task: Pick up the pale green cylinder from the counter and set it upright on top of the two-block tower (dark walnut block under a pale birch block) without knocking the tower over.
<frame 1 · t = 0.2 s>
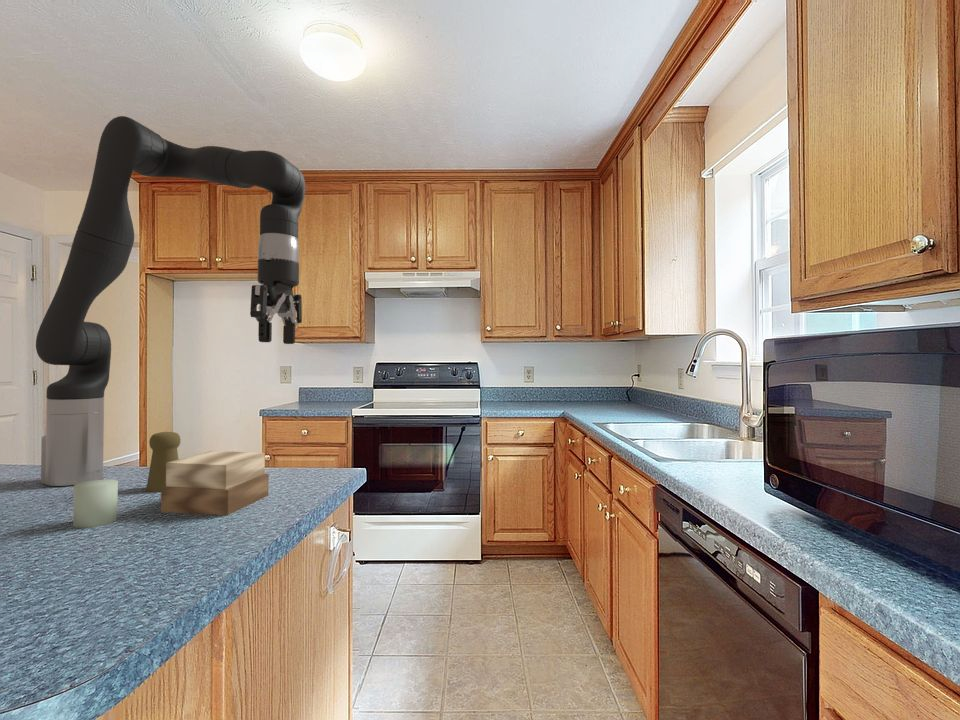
hand: (277, 343, 95), 29 cm above the countertop, tool pointing down, fingers open, 8 cm apart
tower base: (217, 505, 86), on the countertop, touching tower top
tower top: (217, 479, 86), point 4 cm above the countertop, touching tower base
pale green cylinder: (95, 522, 76), on the countertop
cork: (164, 489, 96), on the countertop
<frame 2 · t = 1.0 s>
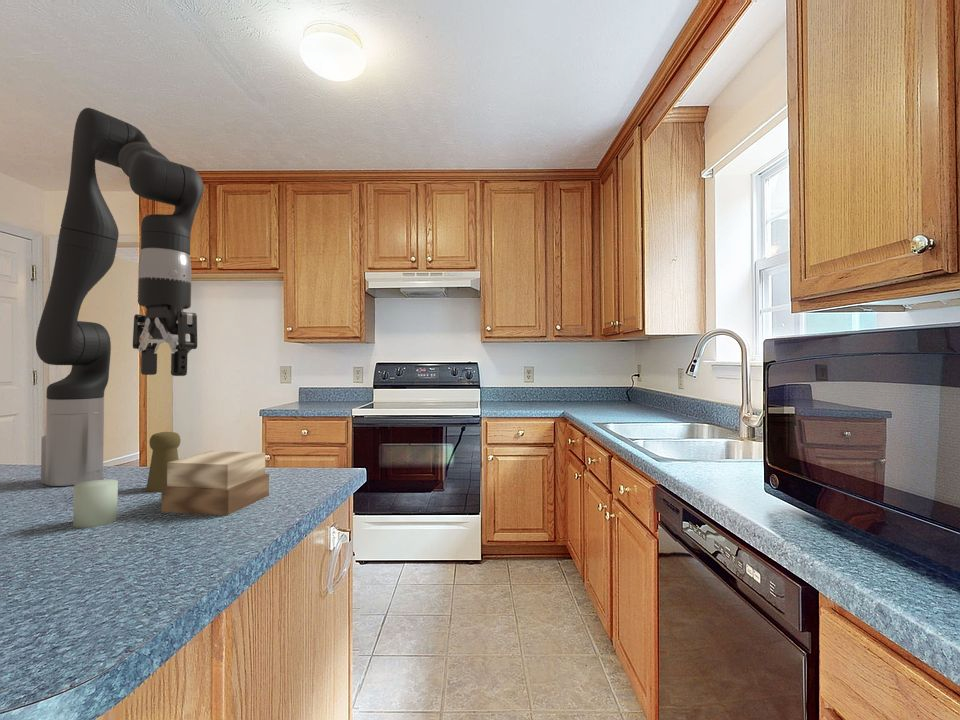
hand: (163, 375, 82), 23 cm above the countertop, tool pointing down, fingers open, 8 cm apart
nothing on the countertop moved.
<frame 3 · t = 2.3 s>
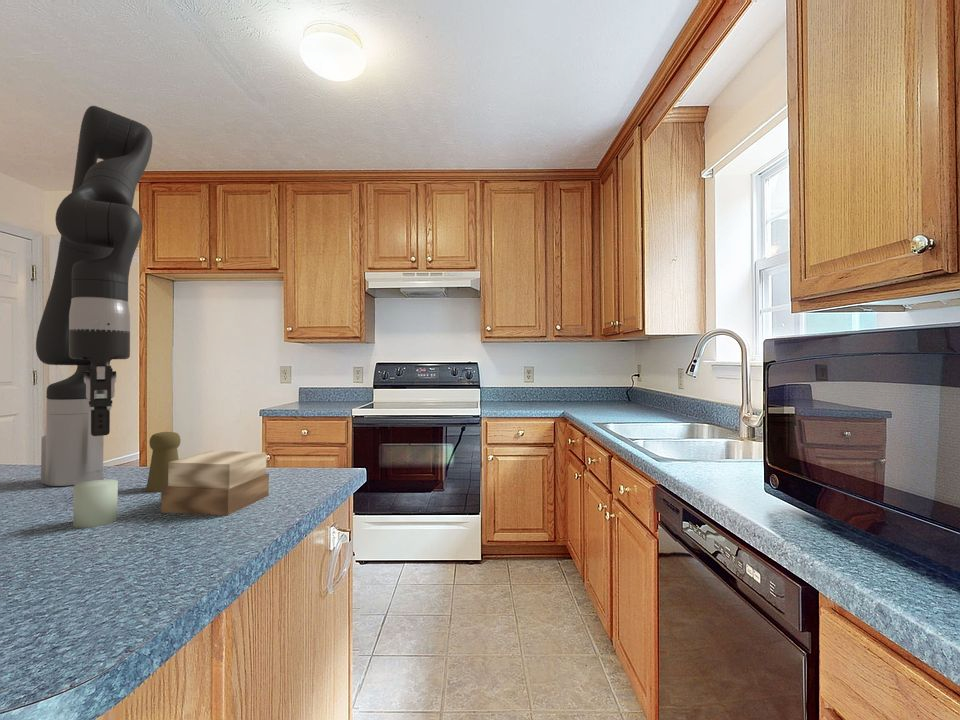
hand: (99, 432, 76), 14 cm above the countertop, tool pointing down, fingers open, 8 cm apart
nothing on the countertop moved.
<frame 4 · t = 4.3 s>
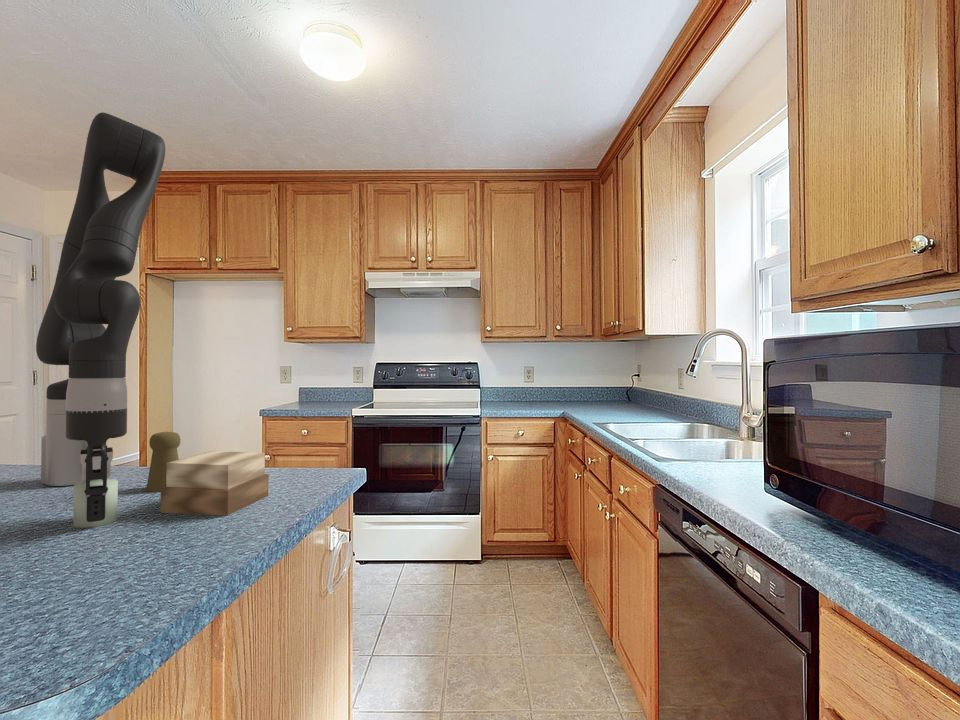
hand: (96, 515, 76), 1 cm above the countertop, tool pointing down, fingers closed on pale green cylinder, 5 cm apart
pale green cylinder: (95, 521, 76), on the countertop, touching gripper
everything else where it was.
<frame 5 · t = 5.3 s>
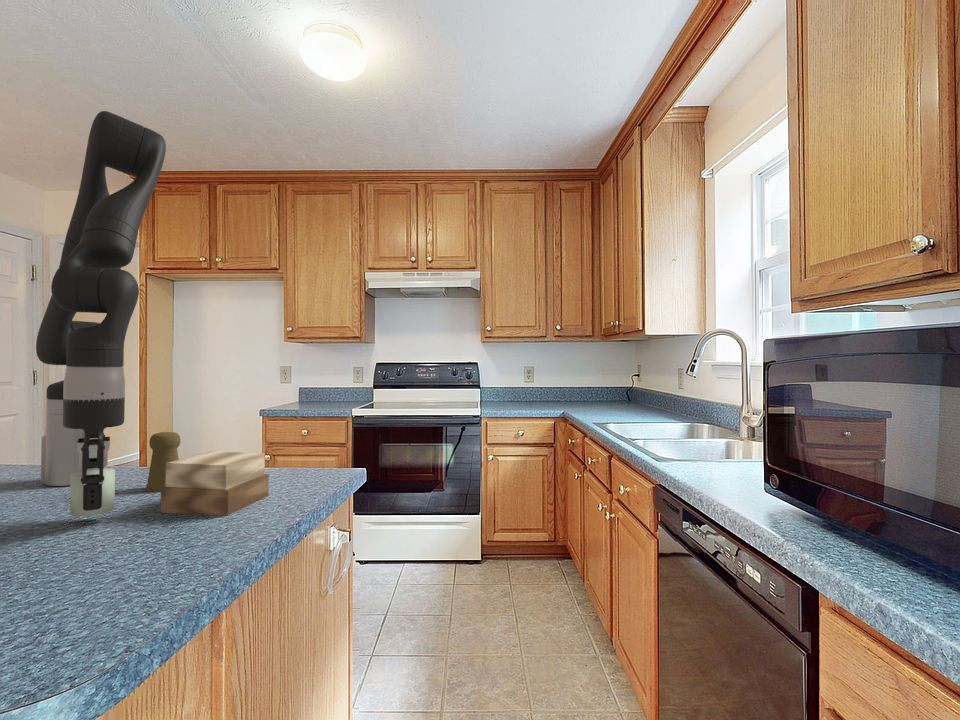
hand: (92, 504, 75), 3 cm above the countertop, tool pointing down, fingers closed on pale green cylinder, 5 cm apart
pale green cylinder: (92, 510, 75), point 2 cm above the countertop, touching gripper
everything else where it was.
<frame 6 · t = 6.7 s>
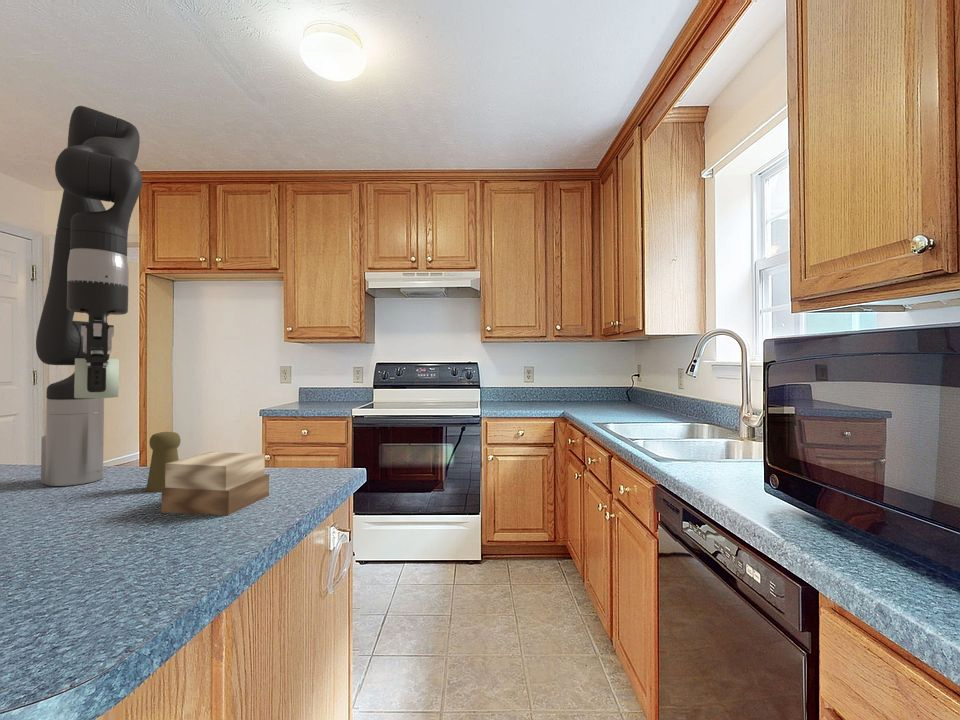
hand: (96, 390, 76), 20 cm above the countertop, tool pointing down, fingers closed on pale green cylinder, 5 cm apart
pale green cylinder: (96, 397, 76), point 19 cm above the countertop, touching gripper
everything else where it was.
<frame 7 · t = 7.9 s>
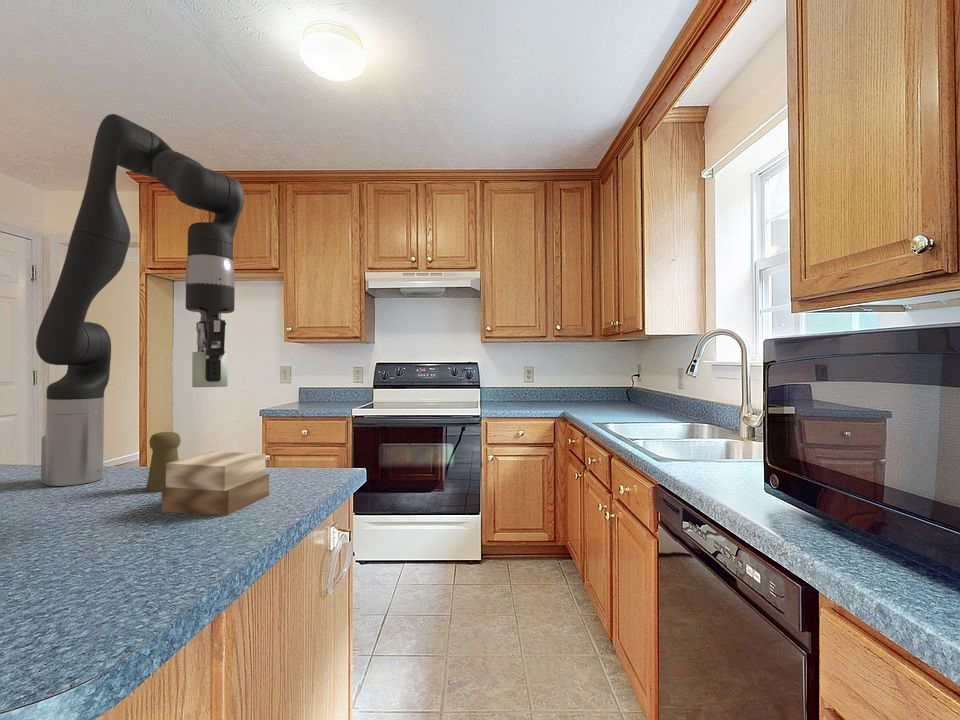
hand: (210, 380, 85), 22 cm above the countertop, tool pointing down, fingers closed on pale green cylinder, 5 cm apart
pale green cylinder: (210, 386, 85), point 21 cm above the countertop, touching gripper
everything else where it was.
when the fingers open (10 cm above the countertop, at t = 11.0 s): pale green cylinder drops 1 cm, resting on tower top.
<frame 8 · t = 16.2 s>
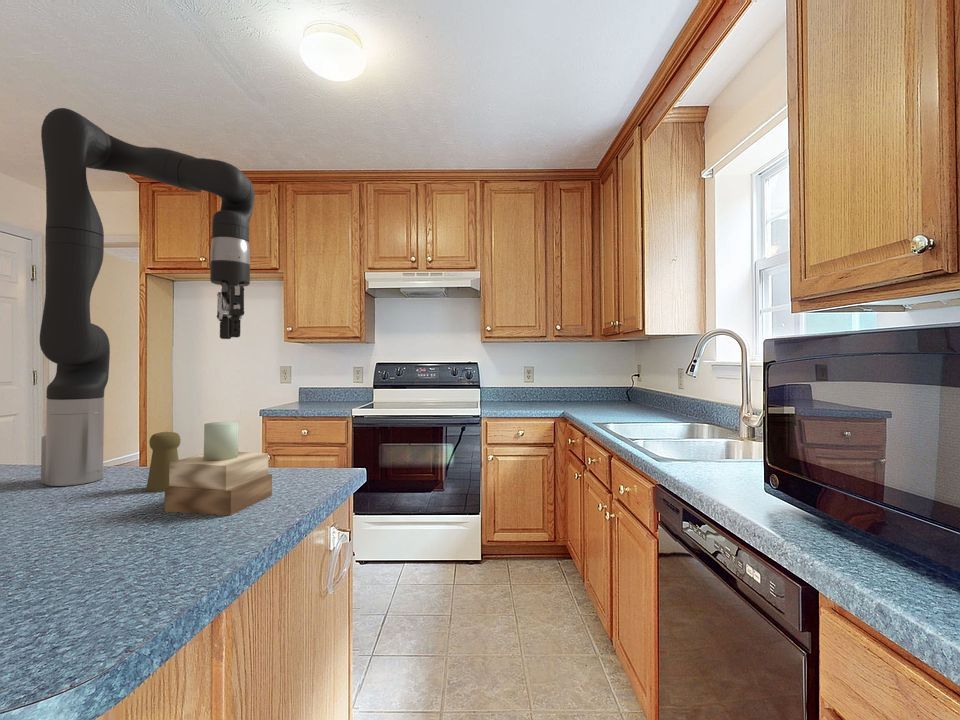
hand: (229, 338, 103), 30 cm above the countertop, tool pointing down, fingers open, 8 cm apart
tower top: (221, 480, 86), point 4 cm above the countertop, touching pale green cylinder, tower base
pale green cylinder: (221, 457, 86), point 8 cm above the countertop, touching tower top
everything else where it was.
at the end: pale green cylinder inside the target area on the tower top (0.1 cm from its centre), point 4.1 cm above the tower top's base; pale green cylinder tilted 1°; tower top 0.3 cm off-centre on the tower base, point 4.5 cm above the tower base's base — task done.
